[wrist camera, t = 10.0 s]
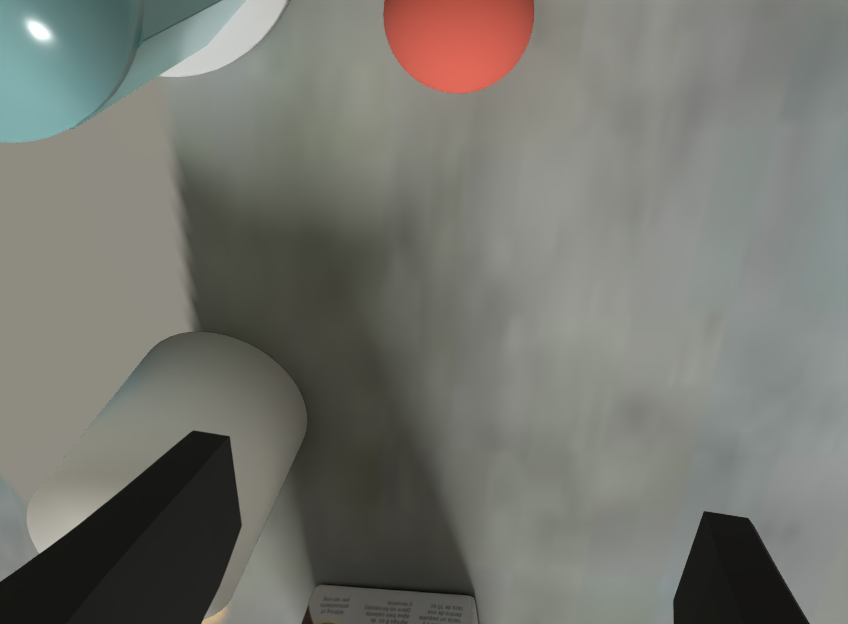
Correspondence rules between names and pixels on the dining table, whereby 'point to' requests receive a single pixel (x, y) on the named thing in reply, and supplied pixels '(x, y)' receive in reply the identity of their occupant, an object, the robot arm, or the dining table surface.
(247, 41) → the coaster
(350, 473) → the dining table surface
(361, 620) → the coffee box
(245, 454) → the white rounded cylinder
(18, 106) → the teal octagonal canister
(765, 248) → the dining table surface
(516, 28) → the red ball
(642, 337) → the dining table surface
